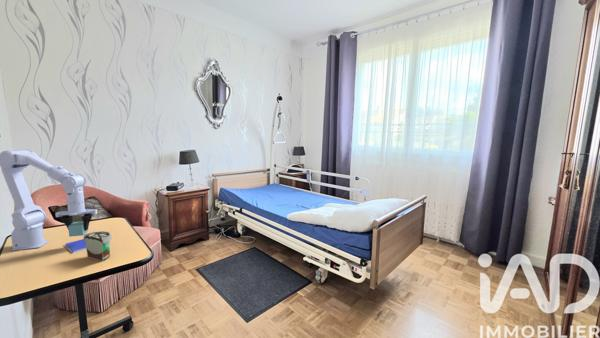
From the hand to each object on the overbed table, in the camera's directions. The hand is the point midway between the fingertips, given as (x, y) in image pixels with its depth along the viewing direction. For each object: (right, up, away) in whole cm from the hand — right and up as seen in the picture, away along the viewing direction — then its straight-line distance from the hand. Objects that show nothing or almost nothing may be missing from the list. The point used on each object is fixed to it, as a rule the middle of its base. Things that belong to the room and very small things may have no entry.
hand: (78, 230), depth 115 cm
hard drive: (0, -8, +1) cm, 9 cm away
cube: (0, -2, 0) cm, 2 cm away
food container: (+17, -9, -7) cm, 21 cm away
